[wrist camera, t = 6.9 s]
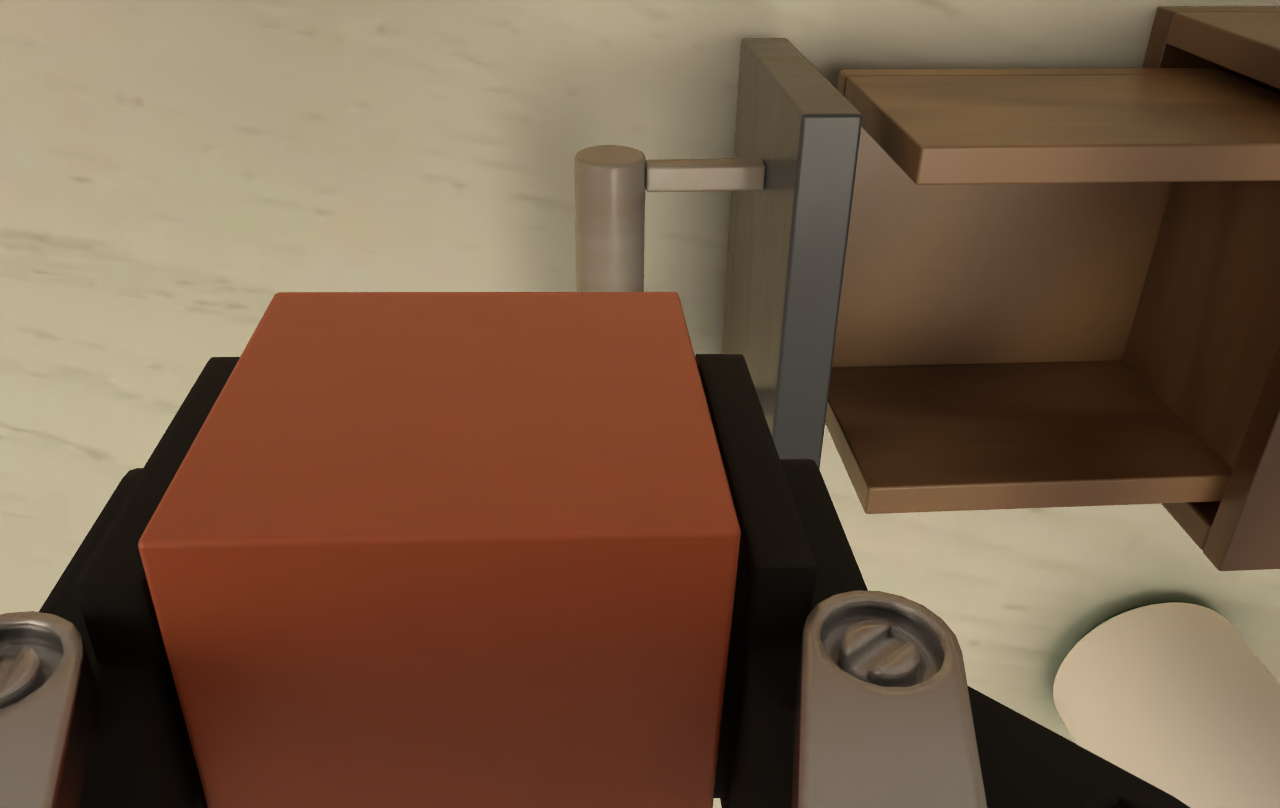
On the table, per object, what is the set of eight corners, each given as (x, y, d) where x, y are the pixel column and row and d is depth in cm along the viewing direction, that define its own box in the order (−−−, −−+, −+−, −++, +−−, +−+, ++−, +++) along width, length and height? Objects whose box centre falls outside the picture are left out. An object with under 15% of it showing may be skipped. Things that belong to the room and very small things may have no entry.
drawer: (576, 399, 31) (583, 554, 25) (569, 37, 26) (576, 116, 19) (1117, 385, 32) (1255, 528, 26) (1216, 37, 27) (1421, 110, 20)
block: (274, 290, 11) (133, 544, 7) (678, 290, 11) (742, 529, 8) (323, 602, 13) (235, 918, 10) (661, 593, 14) (705, 895, 10)
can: (1054, 743, 42) (1220, 1053, 31) (1036, 620, 38) (1217, 925, 28) (1228, 696, 41) (1456, 997, 31) (1226, 567, 38) (1483, 859, 27)
